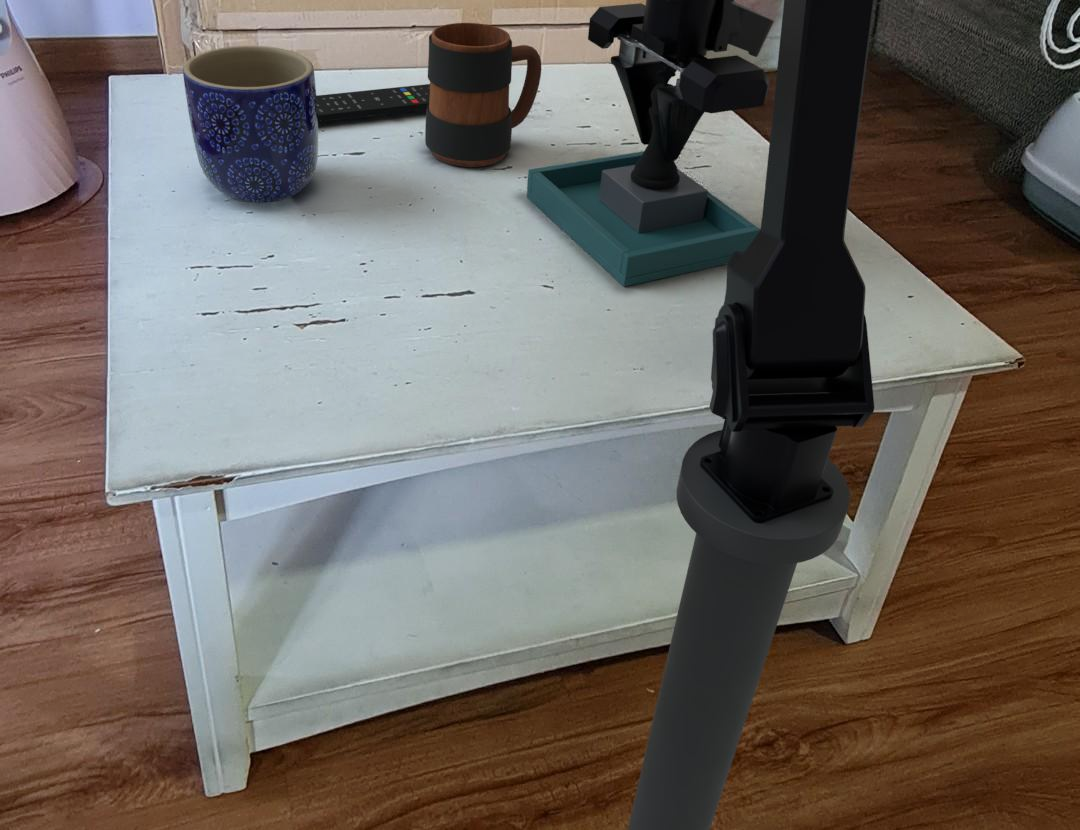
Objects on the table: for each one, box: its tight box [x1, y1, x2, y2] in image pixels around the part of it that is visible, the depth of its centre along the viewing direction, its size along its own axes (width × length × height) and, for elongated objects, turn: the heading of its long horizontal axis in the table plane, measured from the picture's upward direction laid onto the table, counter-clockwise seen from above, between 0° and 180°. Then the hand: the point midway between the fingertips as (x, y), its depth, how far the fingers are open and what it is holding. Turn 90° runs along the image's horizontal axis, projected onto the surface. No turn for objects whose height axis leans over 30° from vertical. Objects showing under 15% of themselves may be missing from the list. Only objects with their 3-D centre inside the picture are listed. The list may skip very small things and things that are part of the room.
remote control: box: [316, 83, 430, 123], centre depth 107 cm, size 5×24×1 cm, turn 116°
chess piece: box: [631, 66, 680, 188], centre depth 87 cm, size 4×4×10 cm
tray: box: [526, 150, 761, 288], centre depth 90 cm, size 18×14×3 cm
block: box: [599, 165, 709, 233], centre depth 91 cm, size 7×7×3 cm
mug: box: [424, 22, 542, 168], centre depth 98 cm, size 9×12×12 cm
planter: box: [182, 45, 319, 204], centre depth 89 cm, size 11×11×11 cm
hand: (658, 152), depth 88 cm, fingers open, 3 cm apart
